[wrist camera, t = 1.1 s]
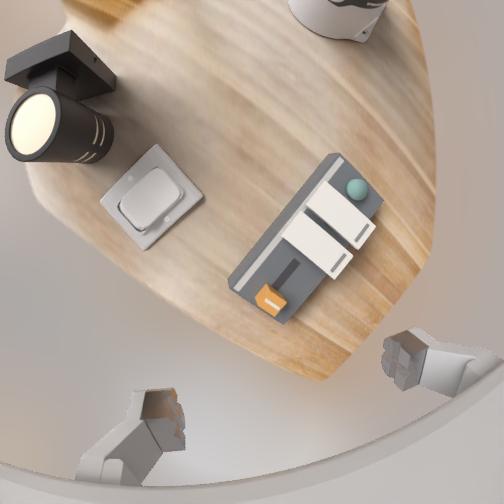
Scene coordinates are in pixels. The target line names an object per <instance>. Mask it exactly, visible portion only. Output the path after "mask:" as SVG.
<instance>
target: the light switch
mask: <svg viewBox="0 0 504 504" xmlns="http://www.w3.org/2000/svg"><path fill="white" fill-rule="evenodd" d="M155 167H156V168H155ZM153 168H154V169H153ZM202 197H203V194H202V193H201V192H200V191H199V190H198V189H197V187H196V186H195V185H194V184H193V183H192V182H191V181H190V180H189V178H188V177H187V176H186V175H185V174H184V173H183V172H182V171H181V169H180V168H179V167H178V166H177V165H176V164H175V163H174V161H173V160H172V159H171V158H170V157H169V156H168V155H167V154H166V152H165V151H164V150H163V149H162V148H161V147H160V146H159V145H158V144H155V145H154V146H152V147H151V148H150V149H149V150H148V151H147V152H146V153H145V154H144V155H143V156H142V157H141V158H140V159H139V160H138V161H137V162H136V163H135V164H134V165H133V166H132V167H131V168H130V169H129V170H128V171H127V172H126V173H125V174H124V175H123V176H122V177H121V178H120V179H119V180H118V181H117V182H116V183H115V184H114V186H113V187H112V188H111V189H110V190H109V191H108V192H107V193H106V194H105V195H104V196H103V198H102V199H101V200H100V203H101V204H102V205H103V206H104V208H105V209H106V210H107V211H108V212H109V213H110V214H111V216H112V217H113V218H114V219H115V220H116V221H117V222H118V223H119V225H120V226H121V227H122V228H123V229H124V230H125V231H126V232H127V233H128V235H129V236H130V237H131V238H132V239H133V240H134V241H135V242H136V243H137V244H138V245H139V246H140V247H141V249H142V250H146V249H147V248H148V247H149V246H150V245H151V244H153V243H154V242H155V241H156V240H157V239H158V238H159V237H160V236H161V235H162V234H163V233H164V232H165V231H166V230H167V229H168V228H169V227H171V226H172V225H173V224H174V223H175V222H176V221H177V220H178V219H179V218H180V217H181V216H183V215H184V214H185V213H186V212H187V211H188V210H189V209H190V208H191V207H193V206H194V205H195V204H196V203H197V202H198V201H199V200H200V199H201V198H202ZM119 203H120V209H121V211H120V209H119ZM126 217H127V218H126ZM135 227H136V228H137V229H139V230H141V231H139V230H137V229H136V228H135ZM146 228H147V229H146ZM144 229H146V230H144ZM142 230H144V231H142Z"/></svg>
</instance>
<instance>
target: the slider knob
mask: <svg viewBox="0 0 504 504" xmlns="http://www.w3.org/2000/svg"><path fill="white" fill-rule="evenodd" d="M255 300H256V302H257V305H258V306H259V307H261V308H262V309H264V310H265V311H267V312H268V313H270V314H271V315H273V316H274V317H275V316H276V315H277V313H278V312H279V311H280V310H281V309H282V308H283V307H284V305H285V304H286V303H287V302H286V300H285V299H284V297H283V295H282V294H281V293H279V292H278V291H276V290H275V289H274V288H272V287H271V286H269V285H268V284H267V283H266V284H265V285H264V286H263V288H262V289H261V290H260V291H259V292H258V294H257V295H256V296H255Z"/></svg>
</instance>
